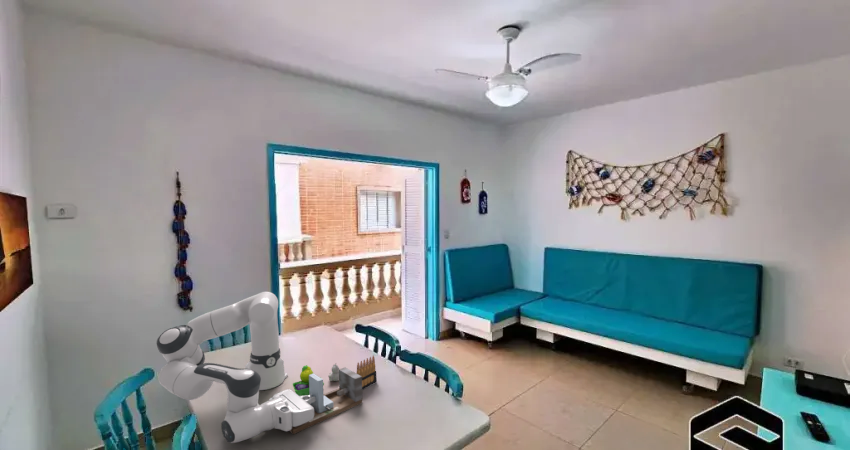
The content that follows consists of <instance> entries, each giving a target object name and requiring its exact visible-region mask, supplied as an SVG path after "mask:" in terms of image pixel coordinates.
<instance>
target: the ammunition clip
mask: <svg viewBox="0 0 850 450" xmlns="http://www.w3.org/2000/svg"><path fill="white" fill-rule="evenodd" d="M375 360H376V359H375V356H374V355H372V356H370V357H369V358H368V357H367V358H366V359H363V360H361V361H360V363H359V361H358V362H357V364H356V372H355V373H356V374H358V375H360V376H362V391H363V390H365V389H367V388H369V387H370V386H373V385H374V384H376V383H377V382H378V381H377V370H376V361H375Z"/></svg>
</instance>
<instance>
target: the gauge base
mask: <svg viewBox="0 0 850 450" xmlns="http://www.w3.org/2000/svg"><path fill="white" fill-rule="evenodd" d="M356 373H357V372H354V370H351V369H349V368H347V367H346V366H344V367H342V368H339V380H338V388H336V389H334V390H330V391H329V392H326V393H323V396H326V397H327V398H328V399H330V400H331V401H333V405H334V407H333V408H331V409H330V411H328V410H326V411H324V412H321V413H317V412H316V411H315V410H314V418H313V419H312V420H310V421H308V422H306V423H304V424H302V425H299V426H296V427H293V426H292V429H291V430H289V431H288V432H290V433H291V434H293V435H294V434H297V433H299V432H301V431H304V430H305V429H308V428H310V427H312V426H315V425H317V424H319V423H321V422H323V421H325V420H327V419H330V418H332V417H334V416H336V415H338V414H340V413H344V412H346V411H347V410H348V411H349V410H350V409H352V408H355V407H357V406H358V405H361V404H363V390H362V376H360V375H358V374H356Z"/></svg>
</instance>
